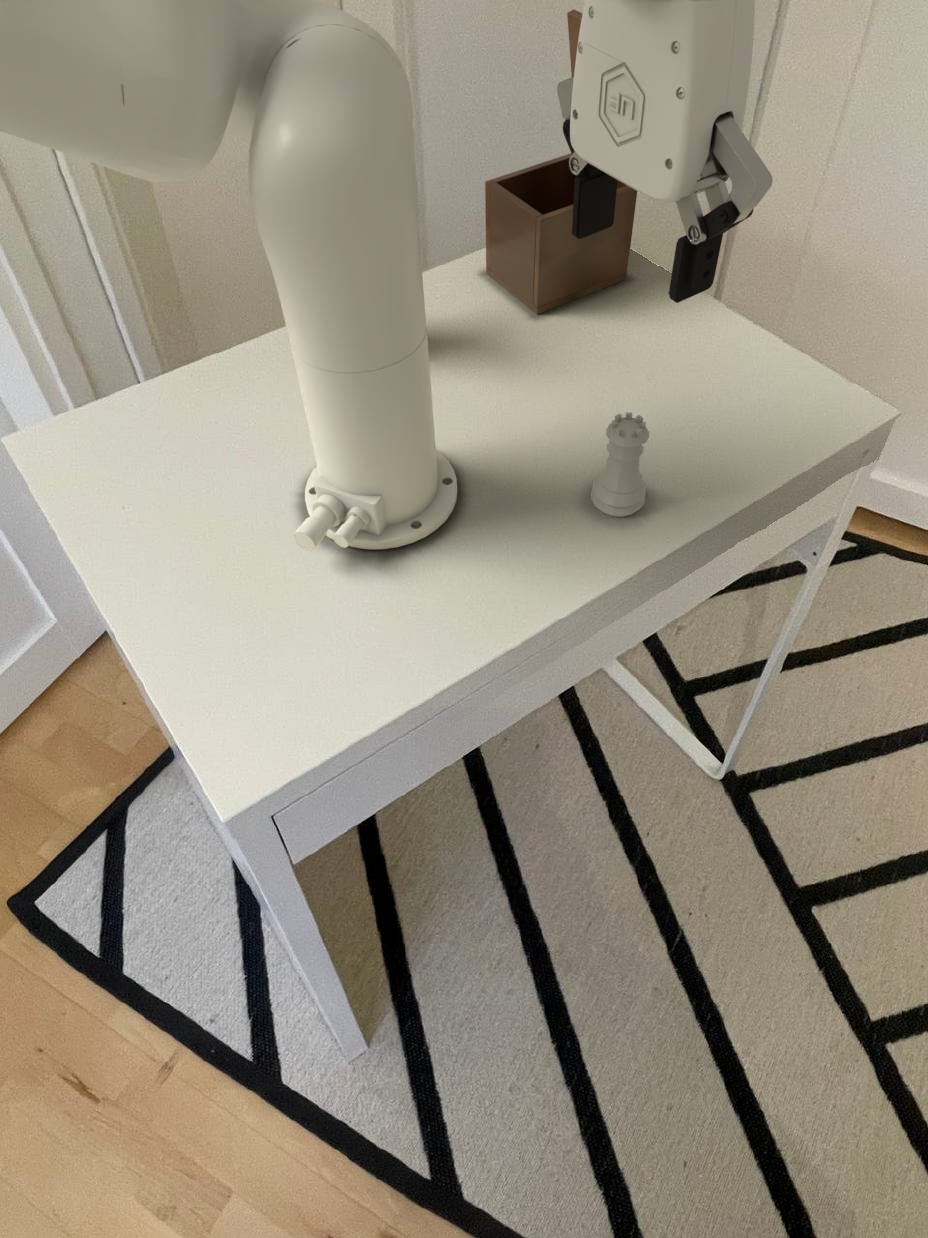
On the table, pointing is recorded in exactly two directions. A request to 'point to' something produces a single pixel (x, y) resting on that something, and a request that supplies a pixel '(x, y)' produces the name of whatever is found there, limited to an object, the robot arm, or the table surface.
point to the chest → (551, 237)
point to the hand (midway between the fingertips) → (639, 261)
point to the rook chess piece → (622, 468)
